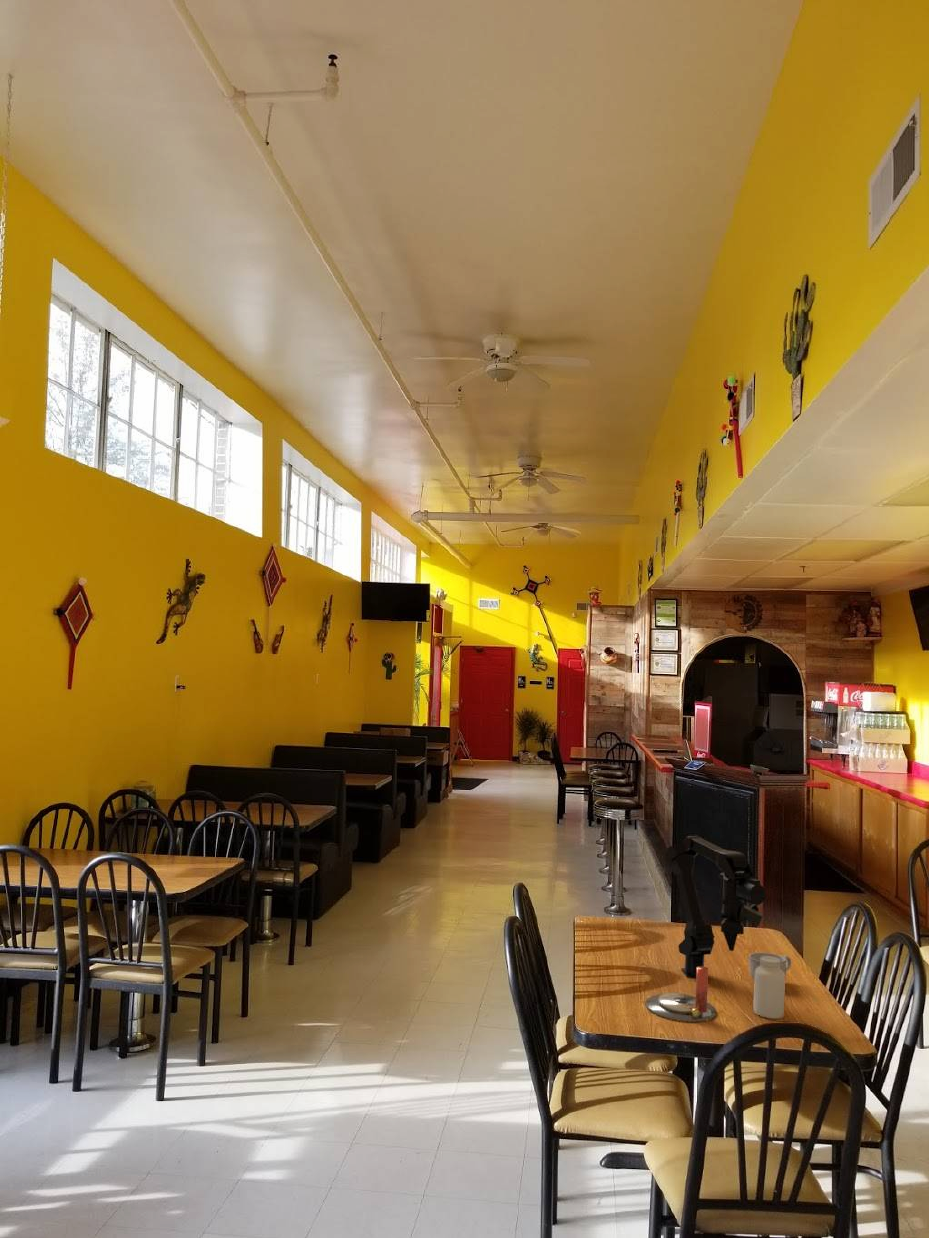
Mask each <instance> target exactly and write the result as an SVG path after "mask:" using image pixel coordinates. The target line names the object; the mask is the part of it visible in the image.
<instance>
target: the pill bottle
mask: <svg viewBox="0 0 929 1238" xmlns="http://www.w3.org/2000/svg"><path fill="white" fill-rule="evenodd" d="M780 962H781V961H780V959H778V958H776V957H772V956H762V957H761V958H760V965H761V966H758V967H757V968H756V970H755V980H753V981H754V983H753V985H754V986H753V988H754V989H753V1007H752V1008H753V1012H754V1013H755V1014H756V1015H757V1016H759V1015H760V1017H762V1018H765V1017H766V1019H773V1020H774V1019H775V1020H776V1019H778V1020H779V1019H782V1018H783V1017H784V1014H785V993H786V991H785V989H786V978H785V974H784V972H783V971H782V970H781V969H780Z"/></svg>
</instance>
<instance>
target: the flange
mask: <svg viewBox="0 0 929 1238" xmlns="http://www.w3.org/2000/svg"><path fill="white" fill-rule="evenodd" d="M695 978H696V980H695V996H693V995H690V994H685V993H679V992H671V993H669V992H668V993H667V992H666V993H663V994H662V995H660V996H659V1001H658V1003H659V1005H660V1006H661V1007H662V1008H664V1009H666V1010H669V1011H672V1012H676V1013H682V1014H692V1009H693V1008H697V1009H699V1012H698V1016H699V1017H701V1018H704V1017H707V1016H711V1010H708V1009H707V1002H708V987H709V985H708V984H709V983H708V982H709V980H708V979H709V968H708V966H707V967H706V966H705V965H704V966H698V967H697V972H696V977H695Z"/></svg>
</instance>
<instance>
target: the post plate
mask: <svg viewBox="0 0 929 1238" xmlns="http://www.w3.org/2000/svg"><path fill="white" fill-rule="evenodd" d="M660 995H662V994H660V993H659V994H655V995H651V996H650V997H648V998H646V1000H645V1008H646V1009H647V1010H648V1011H649V1012H650V1013H652V1014H653V1015H655V1014H656V1015H655V1016H658V1017H660V1016H661V1018H663V1019H666V1018H667V1019H666V1020H670V1019H672V1020H671V1021H674V1020H679V1021H678V1022H680V1021H686V1022H685V1023H701V1022H700V1021H705V1022H707V1021H706V1020H709V1021H711V1020H714V1017H715V1018H716V1016H717V1009H716V1008H715V1007H714V1005H712V1004H711V1003H709V1002H708V1001H707V1009H708V1010H711V1016H707V1017H704V1018H701V1017H699V1016H698V1012H699V1009H697V1008H693V1009H692V1014H682V1013H676V1012H672V1011H669V1010H666V1009H664V1008H662V1007H661V1006H660V1005H659V1003H658V1001H659V996H660ZM710 1019H711V1020H710ZM689 1021H690V1022H689Z"/></svg>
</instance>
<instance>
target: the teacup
mask: <svg viewBox="0 0 929 1238" xmlns="http://www.w3.org/2000/svg"><path fill="white" fill-rule="evenodd" d="M762 956H772V957H776V958H778V959H780V961H781V962H780V969H781V970H782V971H783V972H784V974H785V979H786V976H787V972H788V971H789V969H790V968H791V966H792V959H791V958H790V956H788V955H779V954H776V953H770V952H753V953H750V954H748V959H749V974H750V976H751V978H752V979H753V981H755V970H756V968H757V967H758V966H761V965H760V958H761V957H762Z"/></svg>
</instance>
